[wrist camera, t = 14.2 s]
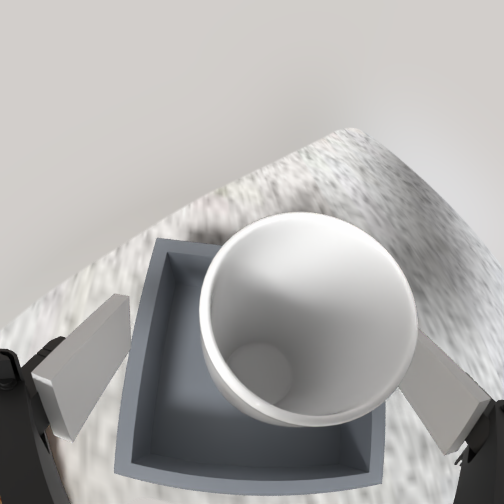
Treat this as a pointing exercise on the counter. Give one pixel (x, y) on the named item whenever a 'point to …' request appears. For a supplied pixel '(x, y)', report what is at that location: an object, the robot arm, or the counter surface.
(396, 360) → the white plastic tumbler
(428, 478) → the counter surface
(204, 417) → the bin
